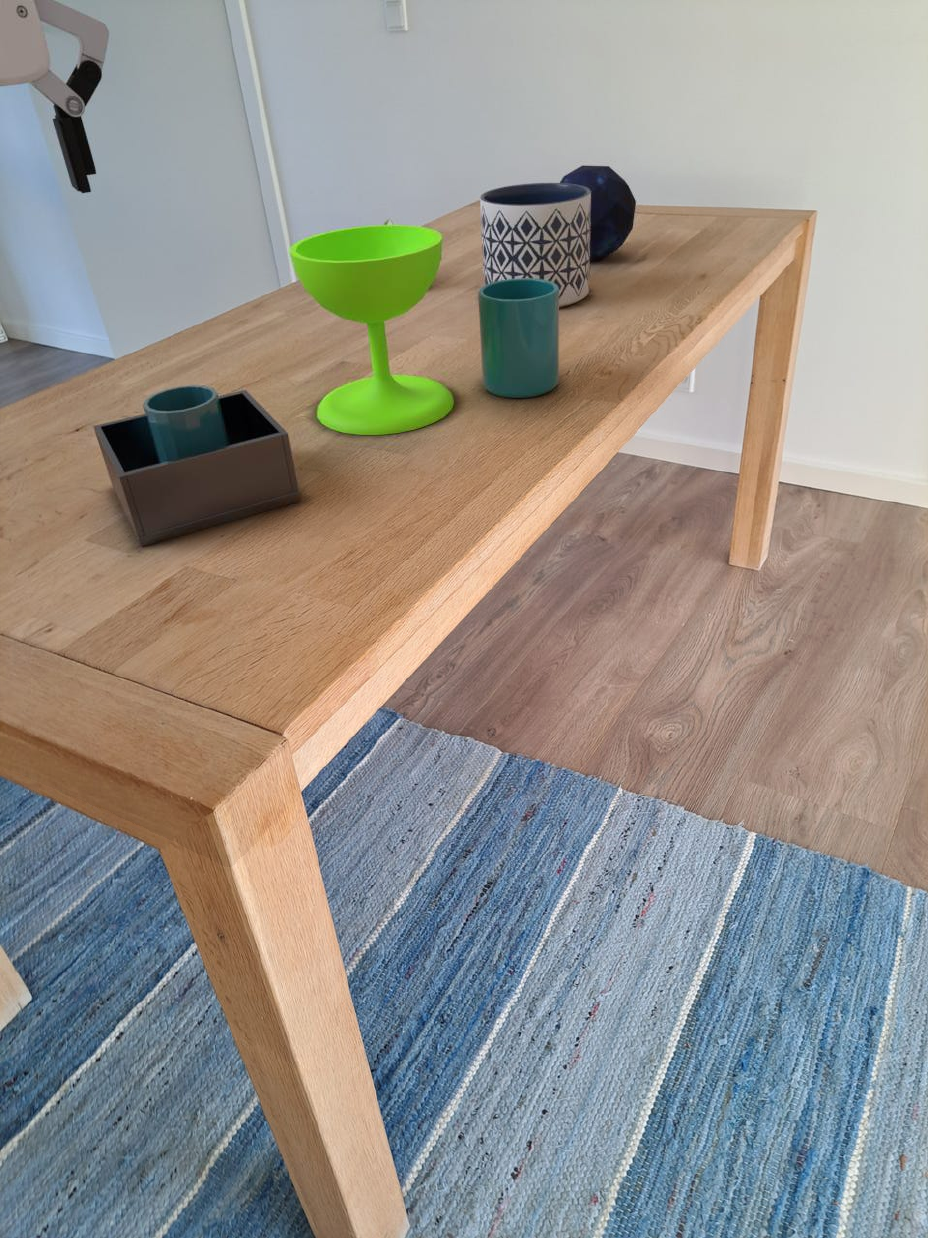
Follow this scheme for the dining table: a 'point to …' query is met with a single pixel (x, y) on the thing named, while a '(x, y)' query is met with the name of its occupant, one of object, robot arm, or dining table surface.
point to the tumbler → (185, 421)
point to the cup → (519, 336)
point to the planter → (538, 236)
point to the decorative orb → (605, 208)
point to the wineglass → (374, 319)
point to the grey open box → (200, 473)
